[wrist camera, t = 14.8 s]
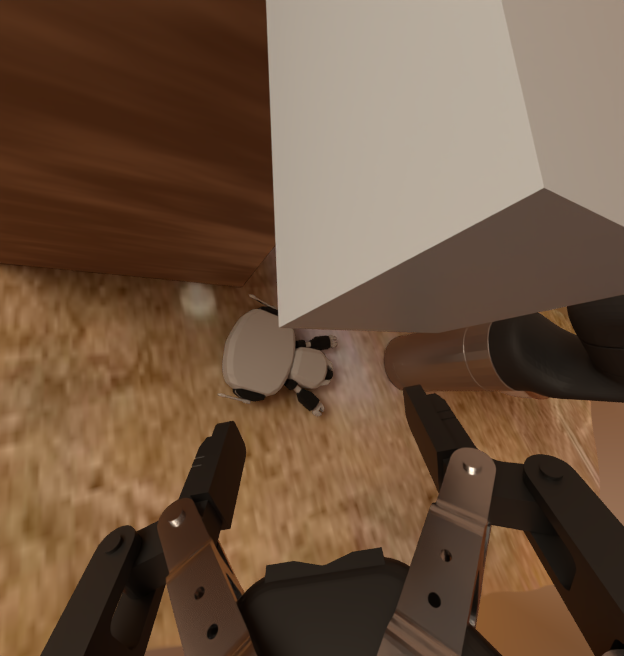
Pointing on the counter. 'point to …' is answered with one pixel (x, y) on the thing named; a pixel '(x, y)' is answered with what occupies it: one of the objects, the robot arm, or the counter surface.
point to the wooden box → (136, 137)
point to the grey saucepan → (445, 159)
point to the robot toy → (274, 359)
